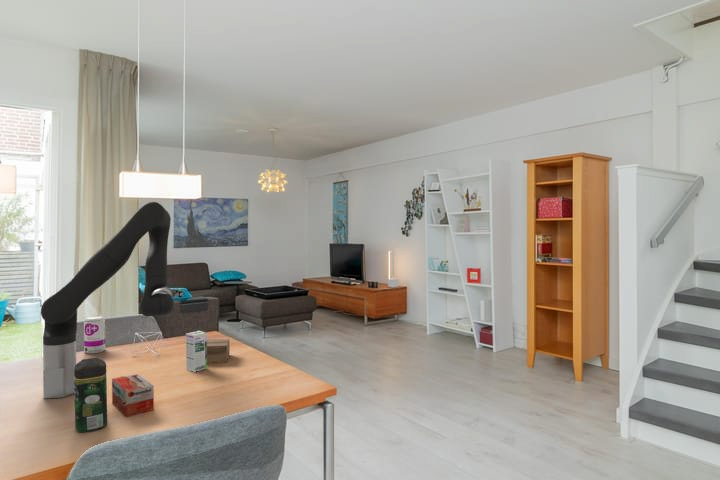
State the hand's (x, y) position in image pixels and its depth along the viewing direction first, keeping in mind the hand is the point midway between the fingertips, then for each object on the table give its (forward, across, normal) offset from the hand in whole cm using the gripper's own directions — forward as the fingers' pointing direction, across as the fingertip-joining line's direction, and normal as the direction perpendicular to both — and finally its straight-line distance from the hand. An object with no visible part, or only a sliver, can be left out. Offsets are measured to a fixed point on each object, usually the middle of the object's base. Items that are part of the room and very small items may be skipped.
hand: (165, 291), depth 185 cm
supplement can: (+28, +32, +29) cm, 51 cm away
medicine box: (-45, +6, +30) cm, 54 cm away
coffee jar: (-56, +15, +30) cm, 65 cm away
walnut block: (0, -19, +30) cm, 35 cm away
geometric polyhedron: (+17, +9, +30) cm, 35 cm away
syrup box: (-12, -12, +30) cm, 34 cm away
